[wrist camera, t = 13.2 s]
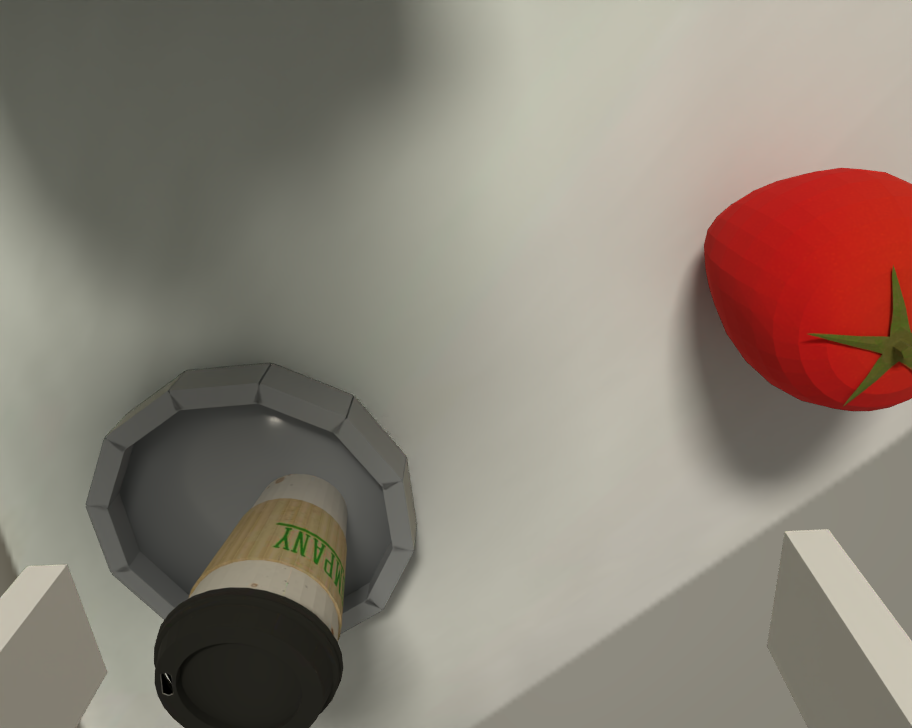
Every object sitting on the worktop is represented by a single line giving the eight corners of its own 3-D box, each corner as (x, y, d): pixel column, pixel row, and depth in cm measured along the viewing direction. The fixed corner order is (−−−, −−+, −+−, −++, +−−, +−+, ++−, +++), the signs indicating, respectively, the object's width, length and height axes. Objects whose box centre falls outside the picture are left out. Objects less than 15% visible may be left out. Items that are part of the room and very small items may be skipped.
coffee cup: (370, 572, 51) (334, 764, 38) (235, 561, 51) (149, 749, 37) (377, 457, 47) (339, 624, 34) (229, 444, 47) (131, 606, 33)
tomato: (641, 294, 44) (715, 397, 31) (741, 116, 39) (875, 147, 26) (814, 367, 45) (952, 494, 32) (927, 204, 41) (1138, 275, 28)
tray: (70, 380, 47) (45, 401, 44) (390, 352, 45) (385, 371, 43) (158, 626, 55) (142, 656, 52) (429, 607, 54) (427, 637, 51)
